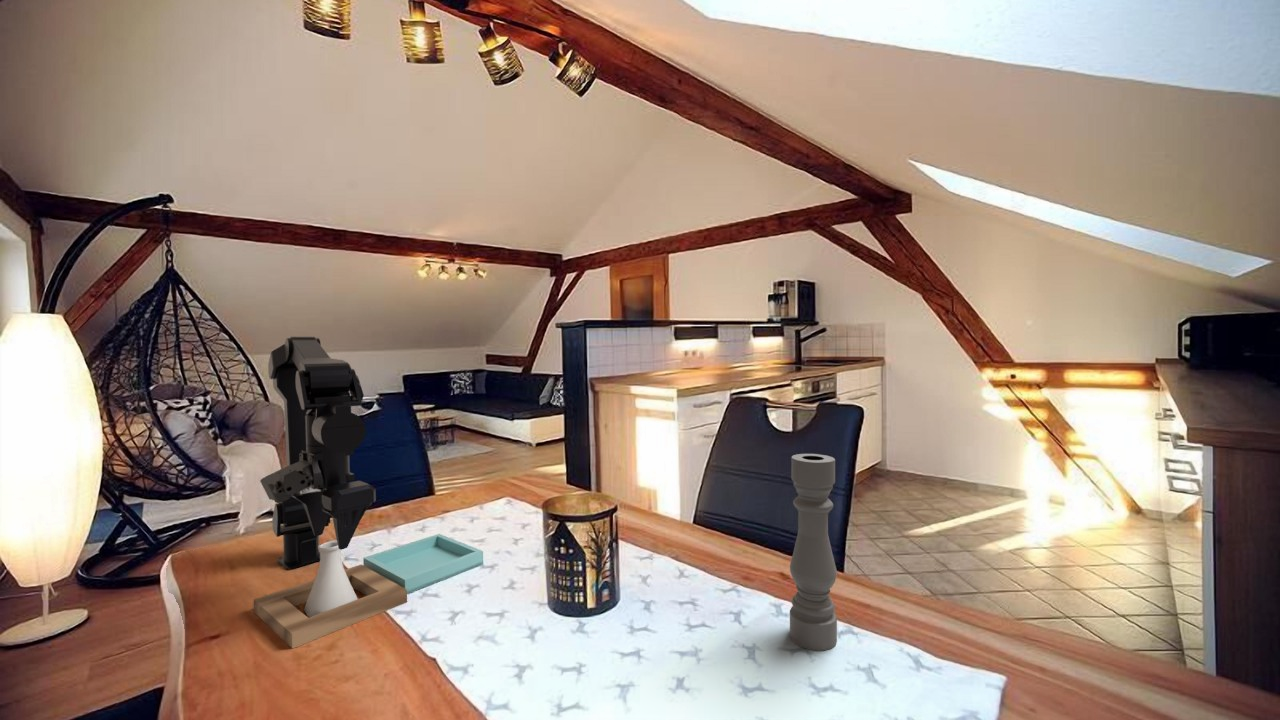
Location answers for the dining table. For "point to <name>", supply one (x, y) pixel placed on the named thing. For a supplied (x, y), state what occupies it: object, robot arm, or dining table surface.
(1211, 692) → the dining table surface
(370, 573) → the frame
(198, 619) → the dining table surface
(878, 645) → the dining table surface
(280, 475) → the robot arm
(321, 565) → the flask
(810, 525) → the candle holder
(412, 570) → the teal tray
